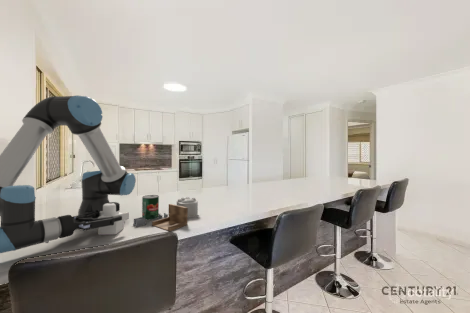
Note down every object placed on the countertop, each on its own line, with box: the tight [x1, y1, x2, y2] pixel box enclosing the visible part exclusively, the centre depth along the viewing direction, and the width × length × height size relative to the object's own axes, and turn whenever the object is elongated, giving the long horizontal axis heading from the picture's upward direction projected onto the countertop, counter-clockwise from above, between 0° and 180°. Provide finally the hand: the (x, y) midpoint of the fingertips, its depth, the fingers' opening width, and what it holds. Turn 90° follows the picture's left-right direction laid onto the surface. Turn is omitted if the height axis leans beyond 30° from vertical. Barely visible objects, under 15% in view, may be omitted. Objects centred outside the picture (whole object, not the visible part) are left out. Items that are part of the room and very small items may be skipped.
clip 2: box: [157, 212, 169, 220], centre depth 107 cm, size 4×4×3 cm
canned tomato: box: [141, 194, 160, 221], centre depth 109 cm, size 8×8×11 cm
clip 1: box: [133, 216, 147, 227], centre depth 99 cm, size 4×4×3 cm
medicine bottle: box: [97, 201, 125, 236], centre depth 90 cm, size 7×7×12 cm
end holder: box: [151, 203, 189, 232], centre depth 98 cm, size 12×10×8 cm
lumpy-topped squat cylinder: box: [176, 196, 199, 218], centre depth 117 cm, size 10×13×9 cm
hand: (121, 213), depth 93 cm, fingers closed on medicine bottle, 10 cm apart
